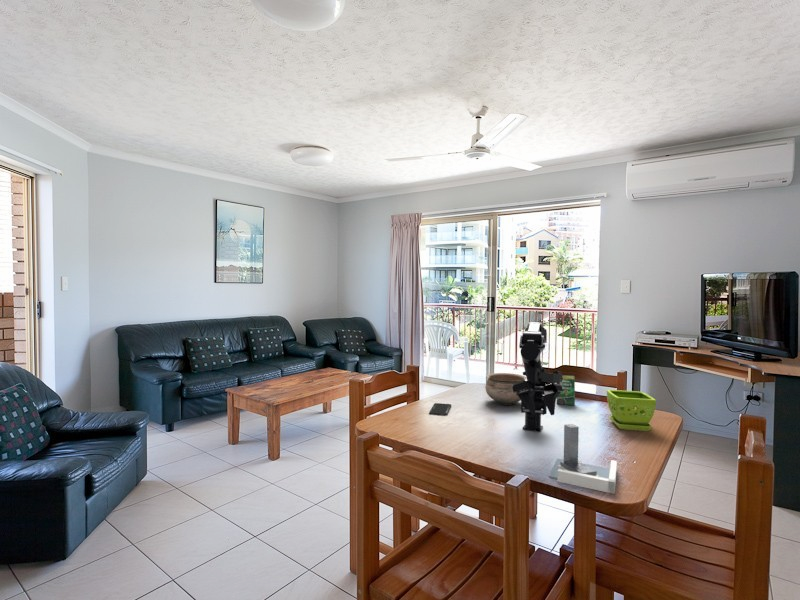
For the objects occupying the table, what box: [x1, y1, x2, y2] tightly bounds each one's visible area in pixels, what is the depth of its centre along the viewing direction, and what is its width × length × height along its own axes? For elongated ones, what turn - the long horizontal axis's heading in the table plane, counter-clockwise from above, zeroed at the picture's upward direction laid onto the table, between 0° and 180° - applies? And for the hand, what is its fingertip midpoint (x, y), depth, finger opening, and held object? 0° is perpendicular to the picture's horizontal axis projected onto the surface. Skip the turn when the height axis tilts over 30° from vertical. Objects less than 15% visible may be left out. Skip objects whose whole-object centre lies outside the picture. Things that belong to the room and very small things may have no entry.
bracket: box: [560, 423, 597, 476], centre depth 122 cm, size 9×6×12 cm, turn 16°
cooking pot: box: [484, 372, 527, 406], centre depth 194 cm, size 25×19×12 cm
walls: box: [557, 459, 618, 495], centre depth 119 cm, size 16×14×3 cm
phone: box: [428, 402, 452, 417], centre depth 183 cm, size 8×1×15 cm
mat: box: [548, 458, 610, 480], centre depth 120 cm, size 14×15×1 cm
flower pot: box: [606, 389, 657, 432], centre depth 162 cm, size 14×14×13 cm
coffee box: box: [555, 375, 576, 406], centre depth 193 cm, size 8×3×13 cm, turn 70°
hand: (543, 414), depth 136 cm, fingers open, 9 cm apart
